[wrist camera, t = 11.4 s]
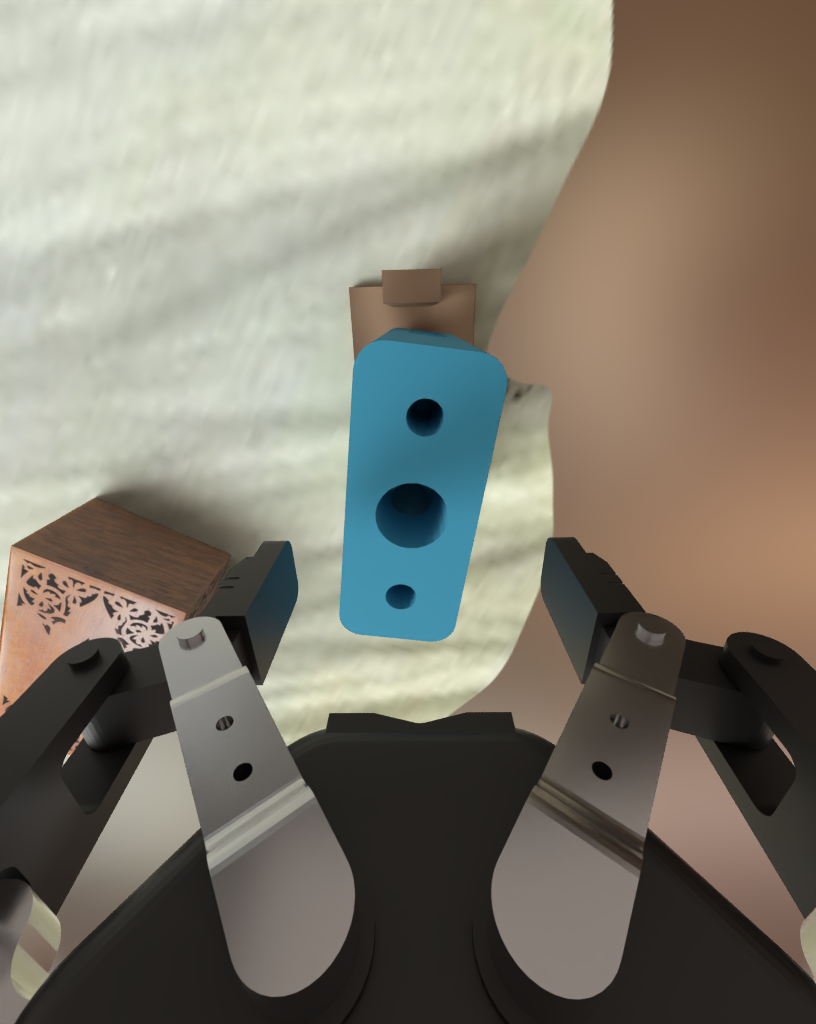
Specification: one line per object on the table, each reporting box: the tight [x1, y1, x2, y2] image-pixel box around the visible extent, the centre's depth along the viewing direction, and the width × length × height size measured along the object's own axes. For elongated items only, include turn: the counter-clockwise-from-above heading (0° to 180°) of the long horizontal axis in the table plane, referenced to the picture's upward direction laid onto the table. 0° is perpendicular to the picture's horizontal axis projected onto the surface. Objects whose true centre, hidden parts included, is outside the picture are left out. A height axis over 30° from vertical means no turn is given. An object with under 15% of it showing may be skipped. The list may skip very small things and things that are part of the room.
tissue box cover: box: [0, 498, 231, 755], centre depth 44 cm, size 26×14×10 cm, turn 152°
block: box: [340, 328, 507, 641], centre depth 24 cm, size 12×5×20 cm, turn 173°
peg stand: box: [349, 269, 476, 360], centre depth 31 cm, size 10×18×14 cm, turn 1°
